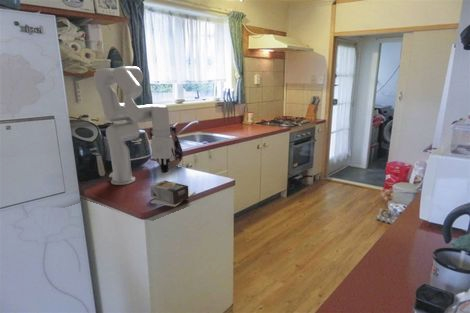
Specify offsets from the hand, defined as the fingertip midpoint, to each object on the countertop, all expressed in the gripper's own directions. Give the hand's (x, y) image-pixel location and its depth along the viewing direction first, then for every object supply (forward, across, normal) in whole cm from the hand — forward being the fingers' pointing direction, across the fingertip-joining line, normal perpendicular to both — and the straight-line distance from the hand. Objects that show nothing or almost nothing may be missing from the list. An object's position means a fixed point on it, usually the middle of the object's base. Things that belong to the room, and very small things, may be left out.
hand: (165, 171), depth 151 cm
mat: (+12, +4, 0) cm, 13 cm away
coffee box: (+8, -5, -1) cm, 10 cm away
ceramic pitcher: (+12, -31, +45) cm, 56 cm away
